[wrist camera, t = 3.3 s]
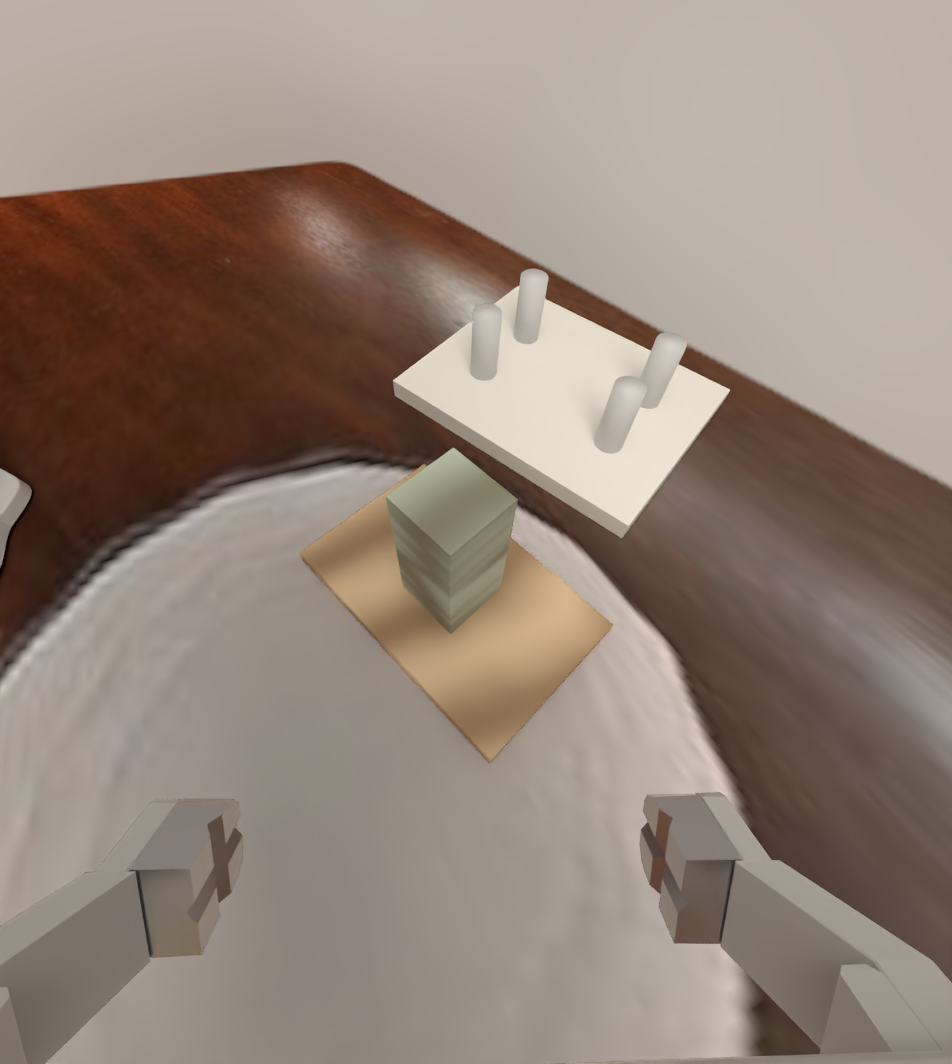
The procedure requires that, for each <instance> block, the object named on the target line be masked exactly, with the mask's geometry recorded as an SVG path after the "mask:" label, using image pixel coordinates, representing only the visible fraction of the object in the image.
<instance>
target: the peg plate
mask: <svg viewBox="0 0 952 1064" xmlns="http://www.w3.org/2000/svg"><path fill="white" fill-rule="evenodd" d="M547 283H548V275H547V274H546V273H545V272H544V271H541V270H538V269H528V270H525V271H523V272H522V274H521V279H520V286H517V287H516V288H515V289H513V290H512V291H511V292H509V293H508V294H507V295H505V296H504V297H503V298H501V299H500V300H499V301H497V302H496V303H495V304H480V305H478V306H476V307H475V308H474V309H473V320H472V321H471V322H470V323H468V324H467V325H466V326H464V327H463V328H462V329H460V330H459V331H458V332H456V333H455V334H454V335H452V336H451V337H450V338H448V339H447V340H446V341H445V342H443V343H442V344H441V345H439V346H438V347H437V348H435V349H434V350H433V351H431V352H430V353H429V354H427V355H426V356H425V357H423V358H422V359H421V360H419V361H418V362H417V363H415V364H414V365H413V366H411V367H410V368H409V369H407V370H406V371H405V372H404V373H402V374H401V375H400V376H398V377H397V378H396V379H394V380H393V385H394V393H395V396H396V397H398V398H399V399H401V400H402V401H404V402H405V403H407V404H409V405H410V406H412V407H413V408H415V409H417V410H418V411H420V412H421V413H423V414H425V415H426V416H428V417H429V418H431V419H433V420H434V421H436V422H437V423H439V424H440V425H442V426H444V427H445V428H447V429H448V430H450V431H452V432H453V433H455V434H456V435H458V436H460V437H461V438H463V439H464V440H466V441H467V442H469V443H471V444H472V445H474V446H475V447H477V448H479V449H480V450H482V451H483V452H485V453H487V454H488V455H490V456H491V457H493V458H495V459H496V460H498V461H499V462H501V463H502V464H504V465H506V466H507V467H509V468H510V469H512V470H514V471H515V472H517V473H518V474H520V475H522V476H523V477H525V478H526V479H528V480H530V481H531V482H533V483H534V484H536V485H537V486H539V487H541V488H542V489H544V490H545V491H547V492H549V493H550V494H552V495H553V496H555V497H557V498H558V499H560V500H561V501H563V502H564V503H566V504H568V505H569V506H571V507H572V508H574V509H576V510H577V511H579V512H580V513H582V514H584V515H585V516H587V517H588V518H590V519H592V520H593V521H595V522H596V523H598V524H599V525H601V526H603V527H604V528H606V529H607V530H609V531H611V532H612V533H614V534H615V535H617V536H619V537H620V538H622V537H623V536H624V535H625V533H626V532H627V531H628V529H629V528H630V527H631V525H632V524H633V523H634V521H635V520H636V519H637V517H638V516H639V515H640V513H641V512H642V511H643V509H644V508H645V507H646V505H647V504H648V502H649V501H650V500H651V498H652V497H653V496H654V494H655V493H656V492H657V490H658V489H659V488H660V486H661V485H662V484H663V482H664V481H665V480H666V478H667V477H668V476H669V474H670V473H671V472H672V470H673V469H674V467H675V466H676V465H677V463H678V462H679V461H680V459H681V458H682V457H683V455H684V454H685V453H686V451H687V450H688V449H689V447H690V446H691V445H692V443H693V442H694V441H695V439H696V438H697V437H698V435H699V434H700V432H701V431H702V430H703V428H704V427H705V426H706V424H707V423H708V422H709V420H710V419H711V418H712V416H713V415H714V414H715V412H716V411H717V410H718V408H719V407H720V406H721V404H722V403H723V401H724V399H725V398H726V396H727V395H728V393H729V391H730V390H729V389H727V388H725V387H723V386H721V385H719V384H717V383H715V382H713V381H711V380H709V379H707V378H705V377H703V376H701V375H699V374H697V373H695V372H693V371H691V370H689V369H687V368H685V367H683V366H681V365H679V364H678V363H679V361H680V359H681V357H682V355H683V353H684V351H685V349H686V347H687V343H686V341H685V340H684V338H682V337H681V336H679V335H677V334H674V333H669V332H666V333H661V334H659V335H658V336H657V338H656V340H655V343H654V345H653V348H652V350H651V351H650V350H648V349H646V348H644V347H642V346H640V345H638V344H636V343H634V342H632V341H630V340H628V339H626V338H623V337H621V336H619V335H617V334H615V333H613V332H611V331H609V330H607V329H605V328H603V327H601V326H599V325H597V324H595V323H593V322H591V321H589V320H587V319H585V318H583V317H581V316H579V315H577V314H575V313H573V312H570V311H568V310H566V309H564V308H562V307H560V306H558V305H556V304H554V303H552V302H550V301H548V300H546V299H545V295H546V289H547Z"/></svg>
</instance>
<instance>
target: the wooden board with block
mask: <svg viewBox="0 0 952 1064" xmlns="http://www.w3.org/2000/svg"><path fill="white" fill-rule="evenodd" d="M517 501H518V499H516V498H515V497H514V496H513V495H512V494H510V493H509V492H508V491H507V490H505V489H504V488H503V487H502V486H500V485H499V484H498V483H497V482H495V481H494V480H493V479H492V478H490V477H489V476H488V475H487V474H486V473H484V472H483V471H482V470H481V469H479V468H478V467H477V466H476V465H474V464H473V463H472V462H471V461H469V460H468V459H467V458H466V457H465V456H463V455H462V454H461V453H460V452H458V451H457V450H456V449H455V448H452V449H451V450H450V451H448V452H447V453H445V454H444V455H443V456H441V457H440V458H438V459H437V460H436V461H434V462H433V463H431V464H430V465H429V466H426V465H425V464H424V465H422V466H421V467H419V468H418V469H417V470H415V471H414V472H412V473H411V474H410V475H408V476H407V477H405V478H404V479H403V480H401V481H400V482H398V483H397V484H396V485H394V486H393V487H391V488H390V489H388V490H387V491H386V492H384V493H383V494H381V495H380V496H379V497H377V498H376V499H374V500H373V501H372V502H370V503H369V504H367V505H366V506H365V507H363V508H362V509H360V510H359V511H358V512H356V513H355V514H353V515H352V516H351V517H349V518H348V519H346V520H345V521H343V522H342V523H341V524H339V525H338V526H336V527H335V528H334V529H332V530H331V531H329V532H328V533H327V534H325V535H324V536H322V537H321V538H320V539H318V540H317V541H315V542H314V543H313V544H311V545H310V546H308V547H307V548H306V549H304V550H303V551H301V552H300V555H301V557H302V559H303V560H304V561H305V563H306V564H307V565H308V566H309V567H310V568H311V569H312V570H313V571H314V572H315V573H316V574H317V576H318V577H319V578H320V579H321V580H322V581H323V582H324V583H325V584H326V585H327V586H328V588H329V589H330V590H331V591H332V592H333V593H334V594H335V595H336V596H337V597H338V598H339V600H340V601H341V602H342V603H343V604H344V605H345V606H346V607H347V608H348V609H349V610H350V612H351V613H352V614H353V615H354V616H355V617H356V618H357V619H358V620H359V621H360V622H361V624H362V625H363V626H364V627H365V628H366V629H367V630H368V631H369V632H370V633H371V634H372V635H373V637H374V638H375V639H376V640H377V641H378V642H379V643H380V644H381V645H382V646H383V647H384V649H385V650H386V651H387V652H388V653H389V654H390V655H391V656H392V657H393V658H394V659H395V661H396V662H397V663H398V664H399V665H400V666H401V667H402V668H403V669H404V670H405V671H406V673H407V674H408V675H409V676H410V677H411V678H412V679H413V680H414V681H415V682H416V683H417V684H418V686H419V687H420V688H421V689H422V690H423V691H424V692H425V693H426V694H427V695H428V696H429V698H430V699H431V700H432V701H433V702H434V703H435V704H436V705H437V706H438V707H439V708H440V710H441V711H442V712H443V713H444V714H445V715H446V716H447V717H448V718H449V719H450V720H451V722H452V723H453V724H454V725H455V726H456V727H457V728H458V729H459V730H460V731H461V732H462V734H463V735H464V736H465V737H466V738H467V739H468V740H469V741H470V742H471V743H472V744H473V745H474V747H475V748H476V749H477V750H478V751H479V752H480V753H481V754H482V755H483V756H484V757H485V759H486V760H487V761H488V762H489V763H490V762H491V761H492V760H493V758H494V757H495V756H496V755H497V754H498V753H499V752H500V751H501V750H502V749H503V747H504V746H505V745H506V744H507V743H508V742H509V741H510V740H511V739H512V737H513V736H514V735H515V734H516V733H517V732H518V731H519V730H520V729H521V728H522V726H523V725H524V724H525V723H526V722H527V721H528V720H529V719H530V718H531V716H532V715H533V714H534V713H535V712H536V711H537V710H538V709H539V708H540V706H541V705H542V704H543V703H544V702H545V701H546V700H547V699H548V698H549V697H550V695H551V694H552V693H553V692H554V691H555V690H556V689H557V688H558V687H559V685H560V684H561V683H562V682H563V681H564V680H565V679H566V678H567V677H568V676H569V674H570V673H571V672H572V671H573V670H574V669H575V668H576V667H577V666H578V664H579V663H580V662H581V661H582V660H583V659H584V658H585V657H586V656H587V655H588V653H589V652H590V651H591V650H592V649H593V648H594V647H595V646H596V645H597V643H598V642H599V641H600V640H601V639H602V638H603V637H604V636H605V635H606V633H607V632H608V631H609V630H610V629H611V627H612V626H613V624H612V623H610V622H609V621H608V620H607V619H606V618H605V617H603V616H602V615H601V614H600V613H599V612H598V611H596V610H595V609H594V608H593V607H592V606H591V605H589V604H588V603H587V602H586V601H585V600H583V599H582V598H581V597H580V596H579V595H578V594H576V593H575V592H574V591H573V590H572V589H571V588H569V587H568V586H567V585H566V584H565V583H563V582H562V581H561V580H560V579H559V578H558V577H556V576H555V575H554V574H553V573H552V572H551V571H549V570H548V569H547V568H546V567H545V566H544V565H542V564H541V563H540V562H539V561H538V560H536V559H535V558H534V557H533V556H532V555H531V554H529V553H528V552H527V551H526V550H525V549H524V548H522V547H521V546H520V545H519V544H518V543H516V542H515V541H514V540H513V539H512V538H511V532H512V527H513V521H514V516H515V511H516V506H517Z"/></svg>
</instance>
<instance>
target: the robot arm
mask: <svg viewBox="0 0 952 1064" xmlns="http://www.w3.org/2000/svg"><path fill="white" fill-rule="evenodd" d="M31 493H32V490H31V488H30V486H29V485H27V484H26V483H24V482H23V481H21V480H20V479H18V478H17V477H15V476H13V475H12V474H10V473H8V472H6V471H4V470H3V469H1V468H0V567H1V565H2V561H3V557H4V552H5V547H6V541H7V537H8V534H9V531H10V529H11V527H12V525H13V524H14V523H15V521H16V520H17V519H18V517H19V516H20V514H21V513H22V511H23V510H24V508H25V507H26V505H27V503H28V501H29V500H30V497H31ZM643 812H644V815H645V817H646V819H647V821H648V822H647V823H646V825H645V826H644V827H643V828H642V829H641V833H640V852H641V861H642V864H643V868H644V872H645V874H646V877H647V879H648V882H649V885H650V886H652V887H653V888H654V889H655V890H656V891H657V892H659V893H660V902H659V909H660V911H661V914H662V916H663V918H664V921H665V923H666V926H667V928H668V930H669V933H670V935H671V937H672V940H673V942H674V943H693V944H721V947H722V948H723V949H724V950H725V952H726V953H727V954H728V955H729V956H730V957H731V958H732V959H733V960H734V961H735V962H736V963H737V964H738V965H739V966H740V967H741V968H742V969H743V970H744V971H745V972H746V973H747V974H748V975H749V976H750V977H751V978H752V979H753V980H754V981H755V982H756V983H757V984H758V985H759V986H760V987H761V988H762V989H763V990H764V991H765V992H766V993H767V994H768V995H769V996H770V997H771V998H772V999H773V1000H774V1002H775V1003H776V1004H777V1005H778V1006H779V1007H780V1008H781V1009H782V1010H783V1011H784V1012H785V1013H786V1014H787V1015H788V1016H789V1017H790V1018H791V1019H792V1020H793V1021H794V1022H795V1023H796V1024H797V1025H798V1026H799V1027H800V1028H801V1029H802V1030H803V1031H804V1032H805V1033H806V1034H807V1035H808V1036H809V1037H810V1038H811V1039H812V1040H813V1041H814V1042H815V1043H816V1044H817V1045H818V1046H819V1047H820V1048H821V1050H820V1054H812V1055H783V1056H754V1057H724V1058H695V1059H667V1060H639V1061H611V1062H584V1063H556V1064H952V983H951V982H950V980H949V979H948V978H947V977H946V976H945V975H944V974H943V972H942V971H941V970H940V969H939V968H938V967H937V966H936V964H935V963H934V962H933V961H932V960H931V959H929V958H928V957H926V956H924V955H923V954H921V953H920V952H918V951H917V950H915V949H914V948H912V947H911V946H909V945H908V944H906V943H905V942H903V941H902V940H900V939H899V938H897V937H896V936H894V935H892V934H891V933H889V932H888V931H886V930H885V929H883V928H882V927H880V926H879V925H877V924H876V923H874V922H873V921H871V920H870V919H868V918H867V917H865V916H864V915H862V914H860V913H859V912H857V911H856V910H854V909H853V908H851V907H850V906H848V905H847V904H845V903H844V902H842V901H841V900H839V899H838V898H836V897H835V896H833V895H831V894H830V893H828V892H827V891H825V890H824V889H822V888H821V887H819V886H818V885H816V884H815V883H813V882H812V881H810V880H809V879H807V878H806V877H804V876H803V875H801V874H799V873H798V872H796V871H795V870H793V869H792V868H790V867H789V866H787V865H786V864H784V863H783V862H781V861H780V860H771V859H770V857H769V856H768V855H767V853H766V852H765V850H764V849H763V848H762V846H761V845H760V843H759V842H758V841H757V839H756V838H755V836H754V835H753V834H752V832H751V831H750V829H749V828H748V827H747V825H746V824H745V822H744V821H743V820H742V818H741V817H740V815H739V814H738V813H737V811H736V810H735V809H734V807H733V806H732V804H731V803H730V802H729V800H728V799H727V797H726V796H725V795H723V794H722V793H720V792H716V793H696V794H650V795H647V796H646V798H645V800H644V807H643ZM239 818H240V810H239V803H238V801H236V800H234V799H156V800H154V801H153V802H151V803H150V804H149V805H148V806H147V807H146V808H145V809H144V811H143V812H142V813H141V815H140V816H139V817H138V818H137V820H136V821H135V822H134V823H133V825H132V826H131V827H130V828H129V830H128V831H127V832H126V833H125V835H124V836H123V837H122V838H121V840H120V841H119V842H118V843H117V845H116V846H115V847H114V849H113V850H112V851H111V852H110V854H109V855H108V856H107V857H106V859H105V860H104V861H103V862H102V864H101V865H100V866H99V867H98V869H97V870H96V871H95V872H86V873H84V874H83V875H81V876H79V877H78V878H76V879H75V880H73V881H71V882H70V883H68V884H67V885H65V886H63V887H62V888H60V889H59V890H57V891H55V892H54V893H52V894H51V895H49V896H47V897H46V898H44V899H43V900H41V901H39V902H38V903H36V904H35V905H33V906H31V907H30V908H28V909H27V910H25V911H23V912H22V913H20V914H19V915H17V916H15V917H14V918H12V919H11V920H9V921H7V922H6V923H4V924H3V925H1V926H0V1064H45V1063H46V1062H47V1061H48V1060H49V1059H50V1058H51V1057H52V1056H53V1055H54V1054H55V1053H56V1052H57V1051H58V1050H59V1049H60V1048H61V1047H62V1046H63V1045H64V1044H65V1043H66V1042H67V1041H68V1040H69V1039H71V1038H72V1037H73V1036H74V1035H75V1034H76V1033H77V1032H78V1031H79V1030H80V1029H81V1028H82V1027H83V1026H84V1025H85V1024H86V1023H87V1022H88V1021H89V1020H90V1019H91V1018H92V1017H93V1016H94V1015H95V1014H96V1013H97V1012H98V1011H99V1010H100V1009H101V1008H102V1007H103V1006H105V1005H106V1004H107V1003H108V1002H109V1001H110V1000H111V999H112V998H113V997H114V996H115V995H116V994H117V993H118V992H119V991H120V990H121V989H122V988H123V987H124V986H125V985H126V984H127V983H128V982H129V981H130V980H131V979H132V978H133V977H134V976H135V975H136V974H137V973H138V972H140V971H141V970H142V969H143V968H144V967H145V966H146V965H147V964H148V963H149V962H150V958H155V957H172V956H190V955H202V953H203V951H204V949H205V947H206V945H207V943H208V940H209V938H210V936H211V934H212V932H213V930H214V928H215V926H216V924H217V922H218V919H219V917H220V913H219V904H218V903H219V902H221V901H222V900H223V899H224V898H225V897H227V896H228V895H229V894H230V893H231V892H232V890H233V887H234V885H235V883H236V881H237V878H238V875H239V871H240V867H241V864H242V859H243V836H242V835H241V833H240V832H239V831H238V830H237V829H236V828H235V826H236V824H237V822H238V820H239Z"/></svg>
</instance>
